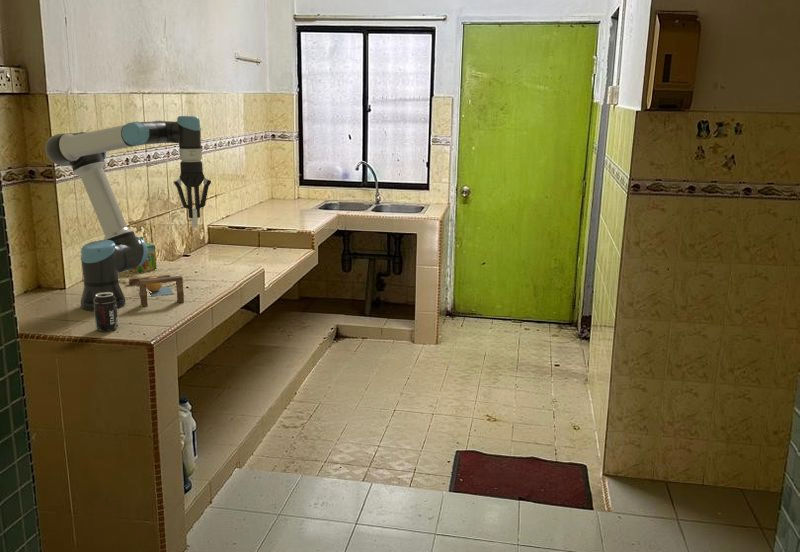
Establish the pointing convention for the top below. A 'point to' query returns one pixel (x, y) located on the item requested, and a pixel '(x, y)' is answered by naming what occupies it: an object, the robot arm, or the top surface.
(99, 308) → the beverage can
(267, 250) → the top surface
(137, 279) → the wall
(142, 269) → the chalk box
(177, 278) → the bridge
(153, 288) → the ball
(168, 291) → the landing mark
